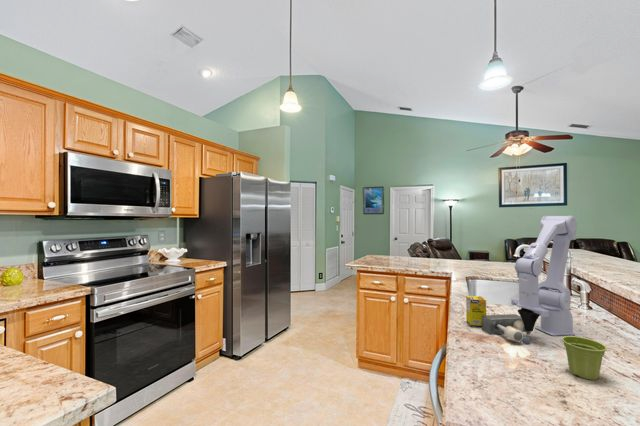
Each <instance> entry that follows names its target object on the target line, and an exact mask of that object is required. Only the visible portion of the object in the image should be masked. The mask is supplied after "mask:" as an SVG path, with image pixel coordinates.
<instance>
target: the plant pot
mask: <svg viewBox="0 0 640 426" xmlns="http://www.w3.org/2000/svg"><path fill="white" fill-rule="evenodd" d="M561 341H562V343H563V346H564V348H565V353H566V359H567V363H568V370H569V372H570V373H571V374H573V375H574V376H579V377H580V378H582V379H585V380H597V379H599V378H600V372H601V368H602V361H603V356H604V355H605V352H607V350H608V347H607V346H606V345H605V344H603V343H601V342H599V341H596V340H593V339H589V338H588V337H587V338H586V337H581V336H575V335H574V336H573V335H564V336H563V337H561Z"/></svg>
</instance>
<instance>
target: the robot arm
mask: <svg viewBox="0 0 640 426" xmlns="http://www.w3.org/2000/svg"><path fill="white" fill-rule="evenodd" d="M539 225H540V232H539V234H538V236H537V239H536V240H535V242H532V243H530V245H528V247H527V249H526V251H525V253H524V254H523V256H522V257H520V258H517V260H516V261H515V264H514V270H515V272H516V277H517V279H518V299H517V298H514V299H511V302H510V303H511V304H510V305H512V306H516V307H517V308H520V309H517V313H518V315H519V316H521V318H522V321H523V324H524V327H525V330H526V331H531V332H533V331H534V329H537V330H539V331H540V332H543V333H545V334H547V335H549V336H573V335H574V336H575V335H576V333H575V332H574V329H573V327H574V324H573V322H574V321H573V320H574V319H573V314H572V312H571V310H569V308H570V306H571V302H572V301H571V293H572V292H571V290H570V289H569V287H567V286H566V285H565V284H564V277H565V273H566V266H567V262H568V261H567V260H568V255H569V249H570V244H571V241H573V240H575V239H576V234H577V229H578V224H577V220H576V218H575V217H574V216H573V215H543V216H542V218H541V220H540V223H539ZM551 242H552V247H551V251H550V258H549V262H548V263H549V264H548V268H547V274H546V279H545V280H543V281H541V282H539V276H540V275H541V274H542V272H543V265H544V262H543V261H544V259H545V258H546V256H547V254H548V252H549V249H548V246H549V245H550V244H551ZM539 317H540V325H539V326H535V325H536V323H537V321H538V319H539Z"/></svg>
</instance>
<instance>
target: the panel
mask: <svg viewBox="0 0 640 426" xmlns="http://www.w3.org/2000/svg"><path fill="white" fill-rule="evenodd" d="M517 320H520V321H522V318H521V316H520V314H516V313H515V314H514V313H509V314H486V315H482V328H481V330H482V331H484V332H485V333H487V334H488V335H494V336H495V335H505V334H504V331H503V330H501V329H499V328H497V327H496V326H495V324H496V323H498V324H500V325H502V326H504V327H505V328H506V327H507V326H512V327H513V324H514V322H515V321H517Z"/></svg>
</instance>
